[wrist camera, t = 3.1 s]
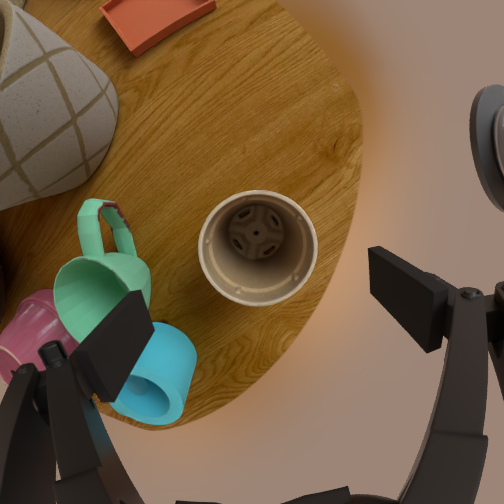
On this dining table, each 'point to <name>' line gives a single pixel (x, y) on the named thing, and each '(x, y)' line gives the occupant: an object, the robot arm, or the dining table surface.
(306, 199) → the dining table surface
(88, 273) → the mug
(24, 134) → the planter
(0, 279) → the bowl
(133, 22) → the pot tray
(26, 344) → the flower pot
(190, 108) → the dining table surface
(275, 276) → the flower pot
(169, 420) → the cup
